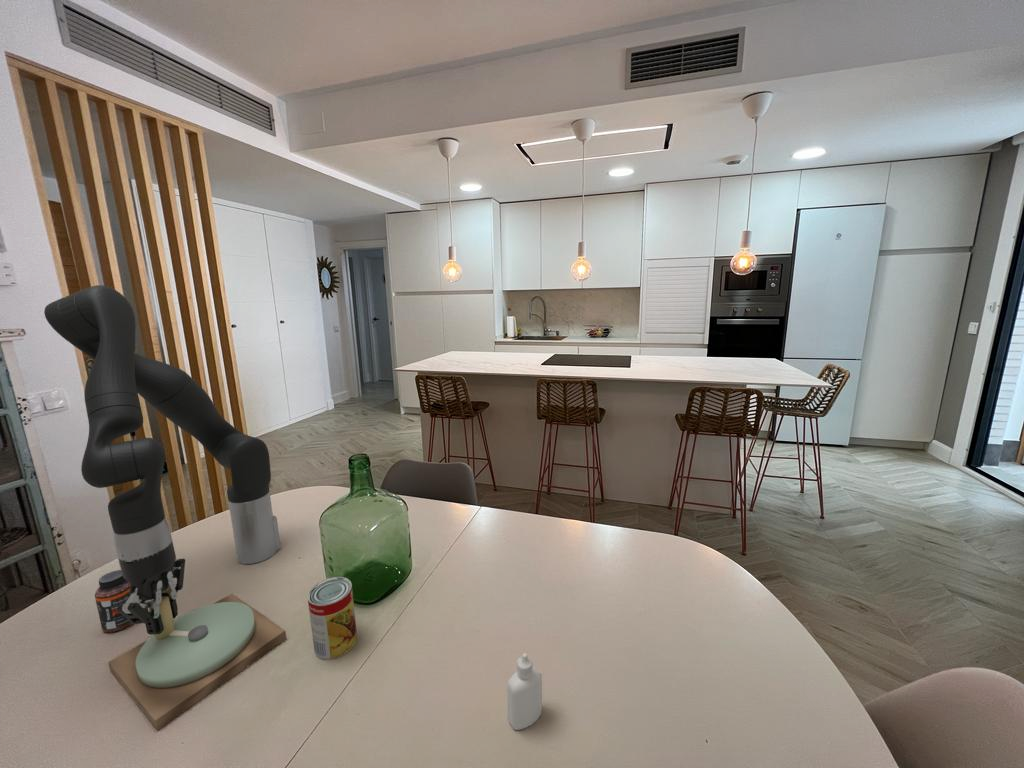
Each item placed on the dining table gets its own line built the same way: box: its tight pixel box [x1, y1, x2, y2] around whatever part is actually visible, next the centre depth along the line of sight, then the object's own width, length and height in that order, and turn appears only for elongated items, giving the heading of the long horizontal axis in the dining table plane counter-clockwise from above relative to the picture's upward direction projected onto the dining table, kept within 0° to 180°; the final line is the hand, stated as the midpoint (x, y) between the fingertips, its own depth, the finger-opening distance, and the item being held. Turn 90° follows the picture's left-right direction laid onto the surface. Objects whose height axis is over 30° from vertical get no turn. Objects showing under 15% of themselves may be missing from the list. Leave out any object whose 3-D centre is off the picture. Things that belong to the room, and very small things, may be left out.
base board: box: [107, 593, 287, 732], centre depth 79 cm, size 21×21×2 cm
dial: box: [136, 596, 255, 688], centre depth 78 cm, size 18×18×9 cm
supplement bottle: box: [94, 569, 133, 633], centre depth 87 cm, size 6×6×11 cm
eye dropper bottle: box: [506, 652, 543, 731], centre depth 66 cm, size 4×6×12 cm
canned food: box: [306, 576, 358, 661], centre depth 81 cm, size 8×8×12 cm
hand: (164, 624), depth 79 cm, fingers closed on dial, 3 cm apart
